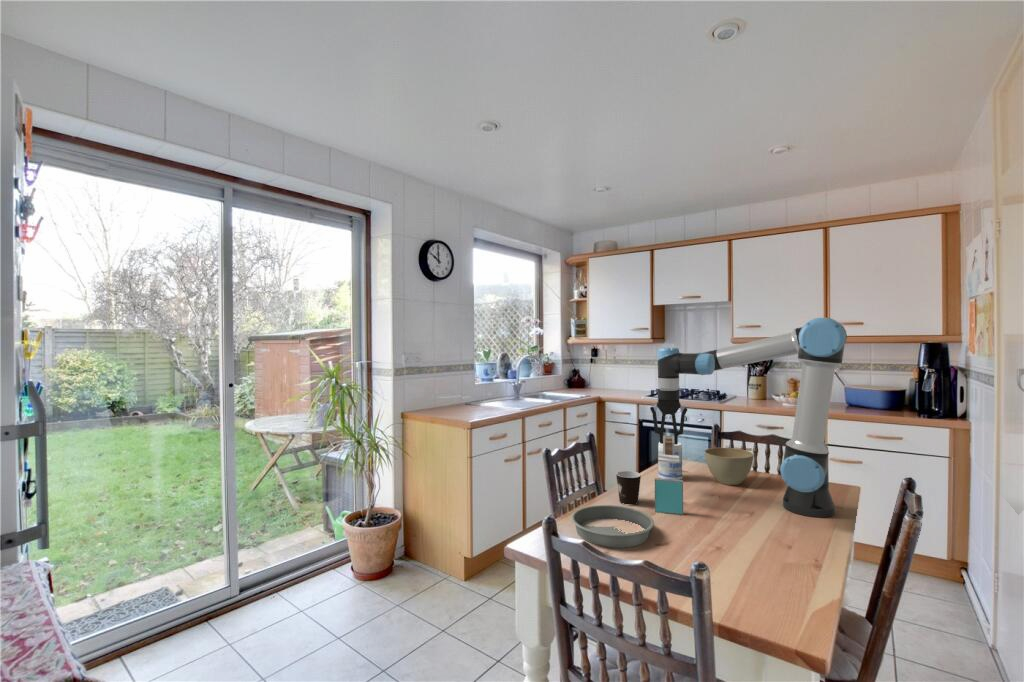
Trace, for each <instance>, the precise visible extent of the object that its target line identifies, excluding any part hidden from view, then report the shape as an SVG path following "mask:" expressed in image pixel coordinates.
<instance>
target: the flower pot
mask: <svg viewBox="0 0 1024 682" xmlns="http://www.w3.org/2000/svg"><path fill="white" fill-rule="evenodd" d="M704 458H705V462H706V465H707V468H708V470H709V471H710V473H711V475H712V476H713V478H714V479H715V480H716V481H717V482H718V483H720V484H722V485H728V486H738V485H741V484H742V483H743V482H744V480H745V479H746V478H747V476H748V475H749V473H750V471H751V469H752V467H753V464H754V463H753V462H754V453H753V452H751V451H750V450H749V451H748V450H746V449H741V448H734V447H733V448H732V447H711V448H706V449H705V450H704Z"/></svg>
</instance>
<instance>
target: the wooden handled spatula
mask: <svg viewBox="0 0 1024 682" xmlns="http://www.w3.org/2000/svg"><path fill="white" fill-rule="evenodd" d="M657 457H658V458H657V462H658V461H660V462H674V463H679V456H677V455H672V435H670V436H668V435H665V455H663V454H659V456H658V455H657Z"/></svg>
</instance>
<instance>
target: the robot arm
mask: <svg viewBox="0 0 1024 682" xmlns="http://www.w3.org/2000/svg"><path fill="white" fill-rule="evenodd" d="M847 338H848V337H847V330H846V328H845V327H844V326H843V325H842V324H841V323H840V322H839V321H837V320H836V319H834V318H830V317H817V318H813V319H810V320H809V321H807V322H806V323H805V324H804V325H803V326H801V327H797V328H794V329H793V331H792V332H789V333H785V334H780V335H774V336H770V337H767V338H762V339H758V340H753V341H749V342H745V343H740V344H736V345H730V346H727V347H721V348H718V349H717V348H716V349H712V350H709V351H704V352H697V353H695V352H694V353H691V352H689V353H683V352H680V350H679V348H678V347H660V348H659V349H658V351H657V359H656V360H657V388H658V390H657V401H656V404H655V405H652V406H650V407H649V409H650V412H651V413H652V420H653V427H654V433H655V434H658V435H659V442H660V444H663V453H665V436H666V434H665V433H664V431H665V424H666V423H665V422H666V415H669V416H671V420H672V429H673V434H671V436H672V454H674V444H676V445H677V444H678V442H679V436H680V435H683V434H684V427H685V418H686V413H687V412H688V407H686V406H682V404H681V401H680V390H679V389H680V375H682V374H684V375H700V376H705V375H708V376H709V375H712V374H714V372H715V371H720V370H724V369H729V368H734V367H739V366H743V365H744V366H745V365H748V364H754V363H759V362H764V361H769V360H774V359H779V358H784V357H789V356H793V355H794V356H795V355H797V360H798V361H799V362H800V363H801V365H802V366H801V372H800V381H799V386H798V387H799V388H798V394H797V400H796V402H797V403H796V408H795V415H794V422H793V430H792V437H791V438H790V439H789V440H787V441H786V442H785V447H784V454H783V461H782V462H781V463H780V468H779V469H780V470H779V471H780V476H781V478H782V480H783V481H784V483H785V484H786V485H787V487H786V489H785V492H784V494H783V498H782V507H783V508H784V509H785V510H787V511H789V512H791V513H794V514H798V515H802V516H807V517H812V518H813V517H814V518H828V517H832V516H835V514H836V506H835V503H834V499H833V497H832V495H831V492H830V489H829V488H830V487H829V483H830V482H829V481H830V480H829V478H830V477H829V454H830V451H829V446H828V445H827V444H825V439H826V434H827V433H826V432H827V426H828V418H829V412H830V407H831V406H830V404H831V398H832V390H833V385H834V384H833V383H834V378H835V371H836V368H838V367H839V366H841V365H842V363H843V358H844V351H845V345H846V342H847ZM679 409H680V413H681V414H680V423H679V430H678V427H677V420H676V413H677V412H678V411H679ZM657 410H659V411H660V413H661V421H660V429H659V424H658V418H657Z"/></svg>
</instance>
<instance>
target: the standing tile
mask: <svg viewBox="0 0 1024 682" xmlns="http://www.w3.org/2000/svg"><path fill="white" fill-rule="evenodd" d="M683 482H684V480H683V479H681V480H674V479H662V478H660V477H658V478H657V477H654V512H655V513H659V512H664V513H663V514H669V513H675V514H674V515H679V514H683V515H684V483H683Z"/></svg>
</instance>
